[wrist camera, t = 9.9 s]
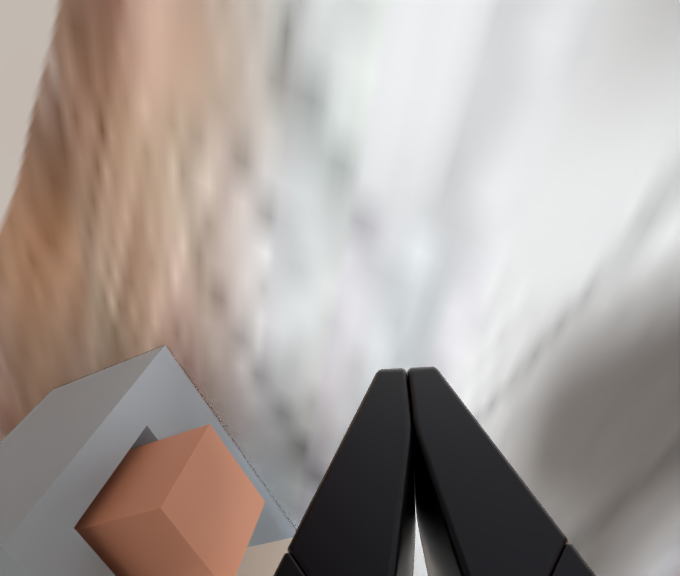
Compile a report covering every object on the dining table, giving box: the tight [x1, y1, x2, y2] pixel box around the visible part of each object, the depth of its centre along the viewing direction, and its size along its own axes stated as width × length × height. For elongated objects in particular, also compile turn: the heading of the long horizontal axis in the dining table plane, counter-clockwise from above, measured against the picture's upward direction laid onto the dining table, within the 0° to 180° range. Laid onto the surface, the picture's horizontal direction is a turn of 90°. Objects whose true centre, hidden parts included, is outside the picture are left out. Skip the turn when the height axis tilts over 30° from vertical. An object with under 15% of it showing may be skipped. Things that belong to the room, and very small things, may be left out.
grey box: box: [0, 345, 296, 576], centre depth 26 cm, size 7×14×10 cm, turn 28°
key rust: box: [74, 424, 265, 576], centre depth 23 cm, size 6×4×4 cm, turn 118°
